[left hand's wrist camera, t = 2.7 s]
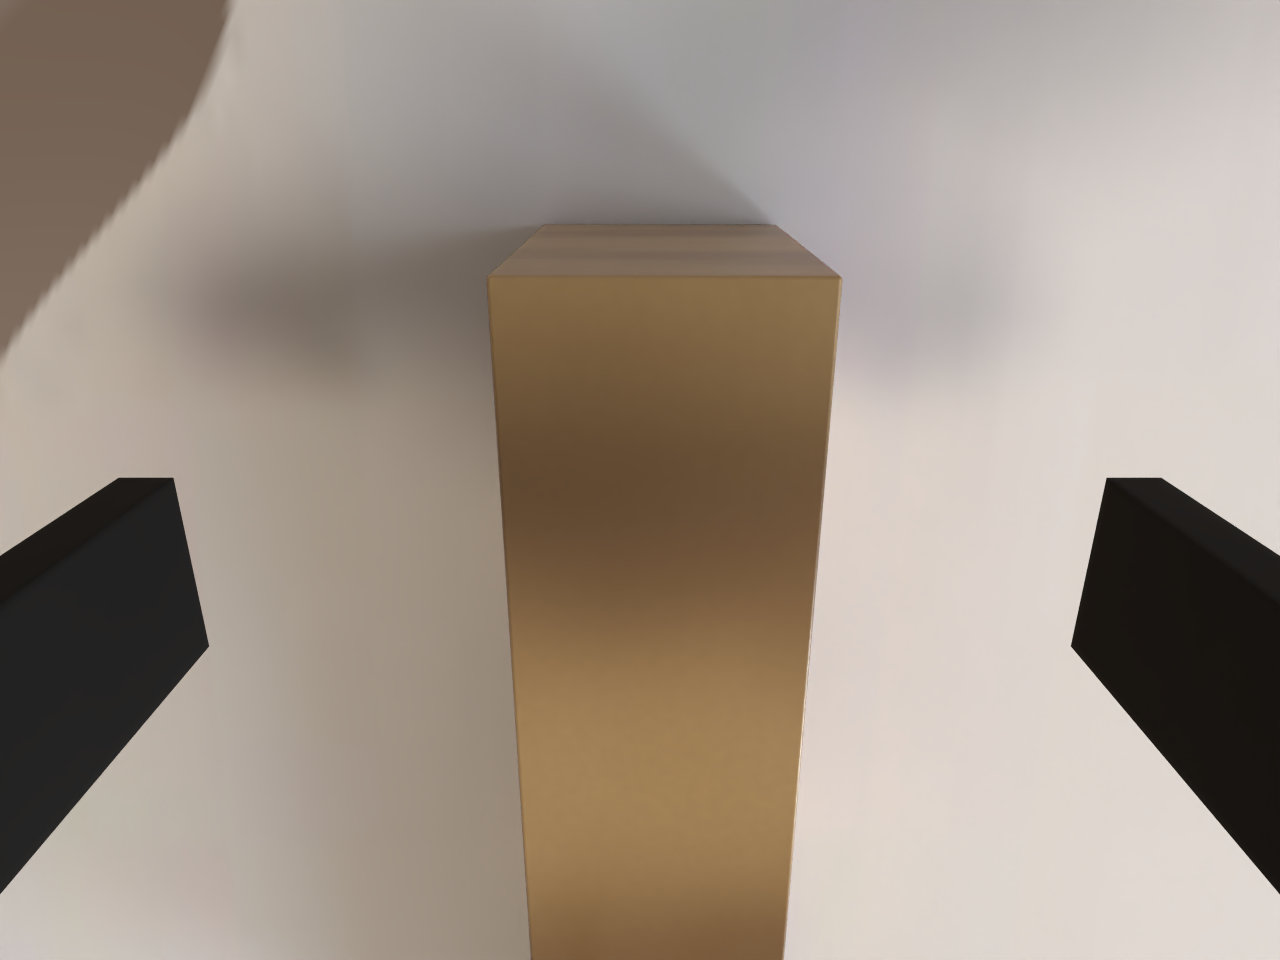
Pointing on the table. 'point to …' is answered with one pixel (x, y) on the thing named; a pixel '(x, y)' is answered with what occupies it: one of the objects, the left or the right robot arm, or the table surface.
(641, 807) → the bar
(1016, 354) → the table surface
